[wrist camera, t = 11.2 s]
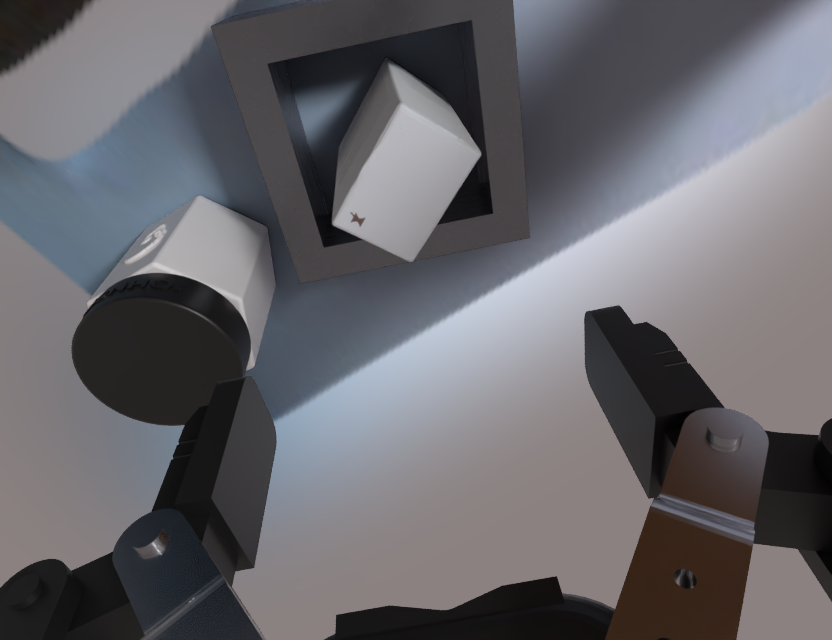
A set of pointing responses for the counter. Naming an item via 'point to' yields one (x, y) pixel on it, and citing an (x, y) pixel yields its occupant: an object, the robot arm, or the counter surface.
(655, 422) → the robot arm
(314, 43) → the socket block
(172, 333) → the jar
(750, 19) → the counter surface
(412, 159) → the skincare box
